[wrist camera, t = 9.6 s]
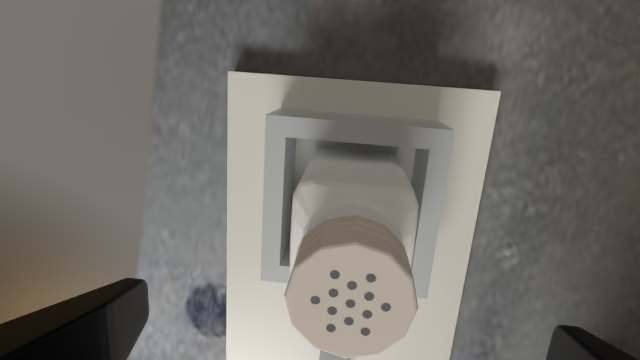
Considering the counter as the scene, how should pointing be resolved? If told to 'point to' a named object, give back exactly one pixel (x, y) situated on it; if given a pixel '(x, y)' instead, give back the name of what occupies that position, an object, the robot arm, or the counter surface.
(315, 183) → the pepper shaker
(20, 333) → the robot arm
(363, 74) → the counter surface
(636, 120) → the counter surface
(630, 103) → the counter surface
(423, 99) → the outlet plate
